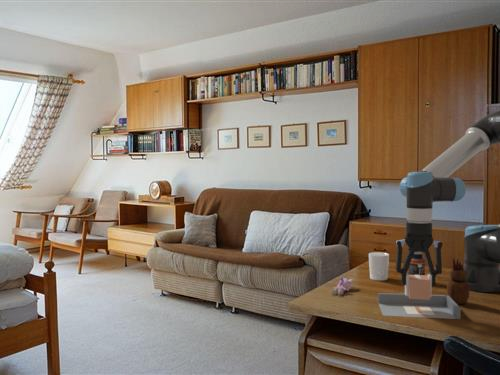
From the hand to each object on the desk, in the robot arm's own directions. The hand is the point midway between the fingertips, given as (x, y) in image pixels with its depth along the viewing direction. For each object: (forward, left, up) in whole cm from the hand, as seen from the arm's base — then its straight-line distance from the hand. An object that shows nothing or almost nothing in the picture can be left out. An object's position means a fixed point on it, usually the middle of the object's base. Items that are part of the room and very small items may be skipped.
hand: (418, 295), depth 139 cm
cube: (0, 0, 0) cm, 0 cm away
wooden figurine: (-15, -11, -5) cm, 19 cm away
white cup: (+7, -40, -5) cm, 41 cm away
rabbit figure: (+22, -19, -5) cm, 30 cm away
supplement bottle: (-7, -37, -5) cm, 38 cm away
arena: (0, 0, -5) cm, 5 cm away
